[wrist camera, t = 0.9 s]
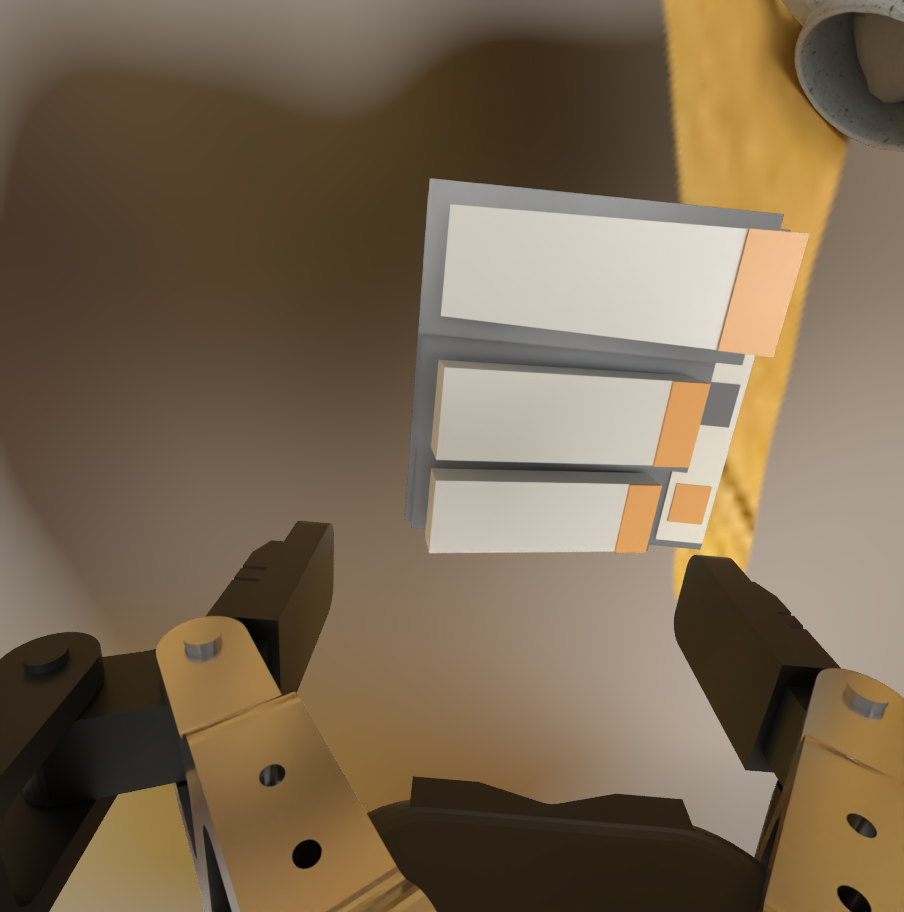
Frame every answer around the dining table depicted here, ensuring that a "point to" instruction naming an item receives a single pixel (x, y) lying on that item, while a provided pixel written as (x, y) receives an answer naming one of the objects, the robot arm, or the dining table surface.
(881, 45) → the ceramic mug
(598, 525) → the block
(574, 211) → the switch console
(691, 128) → the dining table surface
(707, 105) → the dining table surface
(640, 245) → the front rocker
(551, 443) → the middle rocker
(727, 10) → the dining table surface
